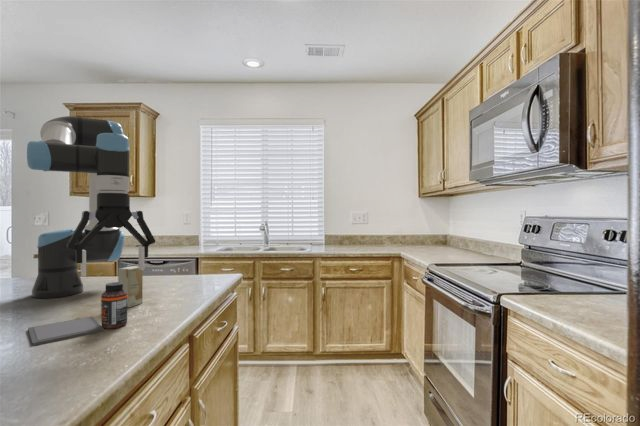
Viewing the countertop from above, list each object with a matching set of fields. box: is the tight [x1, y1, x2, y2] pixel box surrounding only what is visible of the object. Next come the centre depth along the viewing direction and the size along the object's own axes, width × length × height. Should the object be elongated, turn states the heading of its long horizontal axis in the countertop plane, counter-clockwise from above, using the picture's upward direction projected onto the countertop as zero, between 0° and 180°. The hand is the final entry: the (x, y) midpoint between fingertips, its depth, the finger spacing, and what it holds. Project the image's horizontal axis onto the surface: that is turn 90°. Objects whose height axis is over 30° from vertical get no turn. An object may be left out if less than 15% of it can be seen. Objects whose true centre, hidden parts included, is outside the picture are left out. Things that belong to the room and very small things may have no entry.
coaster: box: [27, 316, 105, 346], centre depth 89 cm, size 14×14×1 cm
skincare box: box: [117, 265, 144, 308], centre depth 113 cm, size 6×4×12 cm
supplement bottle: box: [100, 281, 128, 330], centre depth 93 cm, size 6×6×11 cm
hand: (114, 272), depth 93 cm, fingers open, 13 cm apart
